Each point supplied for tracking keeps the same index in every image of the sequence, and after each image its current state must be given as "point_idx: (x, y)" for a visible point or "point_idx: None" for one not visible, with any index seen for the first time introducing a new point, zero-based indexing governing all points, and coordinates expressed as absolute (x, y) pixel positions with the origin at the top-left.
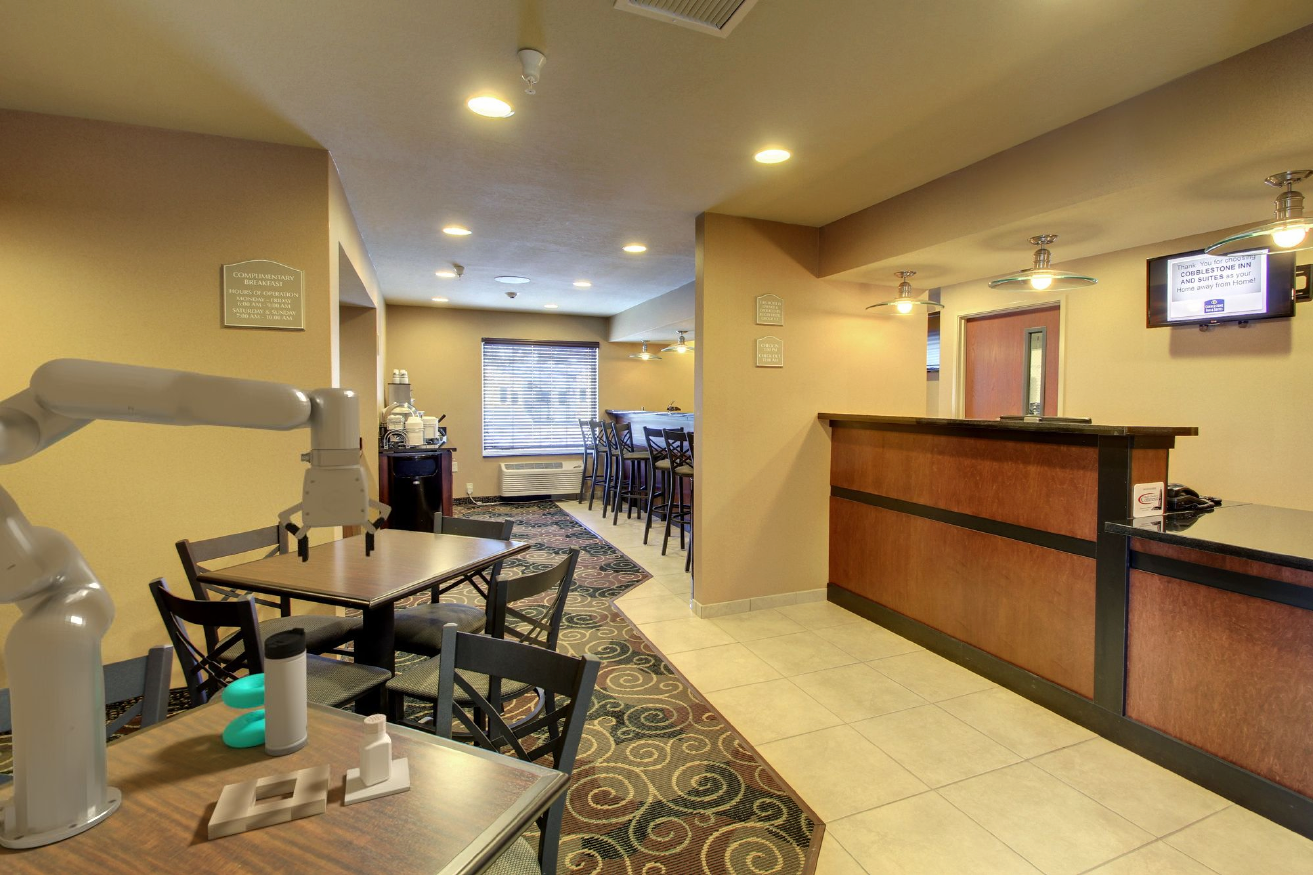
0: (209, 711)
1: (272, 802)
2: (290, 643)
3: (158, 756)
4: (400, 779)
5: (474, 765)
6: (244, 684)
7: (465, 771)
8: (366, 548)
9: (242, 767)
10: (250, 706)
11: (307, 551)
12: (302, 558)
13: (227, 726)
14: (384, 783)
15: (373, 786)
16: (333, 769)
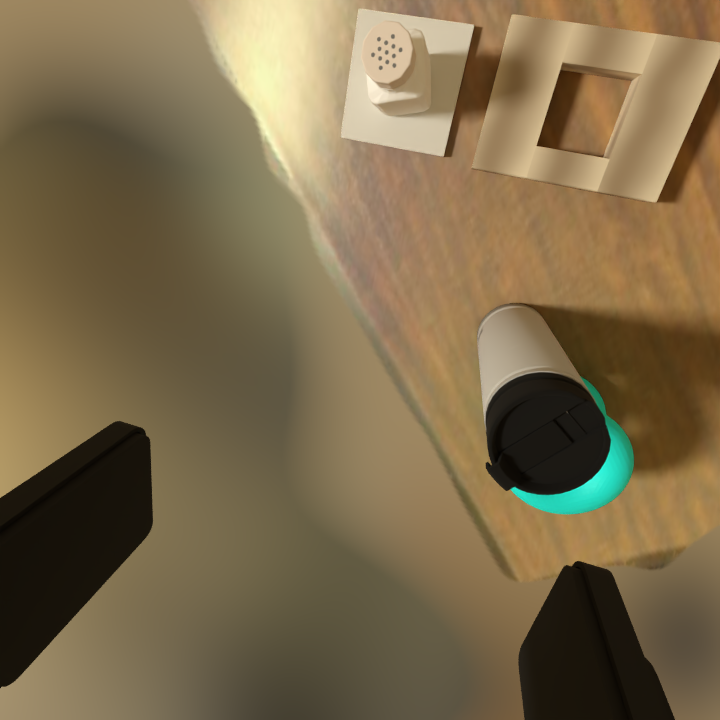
0: (590, 550)
1: (600, 64)
2: (545, 389)
3: (699, 441)
4: None
5: (241, 36)
6: (584, 484)
7: (260, 22)
8: (91, 465)
9: (592, 306)
10: None
11: (565, 674)
12: (616, 593)
13: None
14: None
15: None
16: (460, 192)
